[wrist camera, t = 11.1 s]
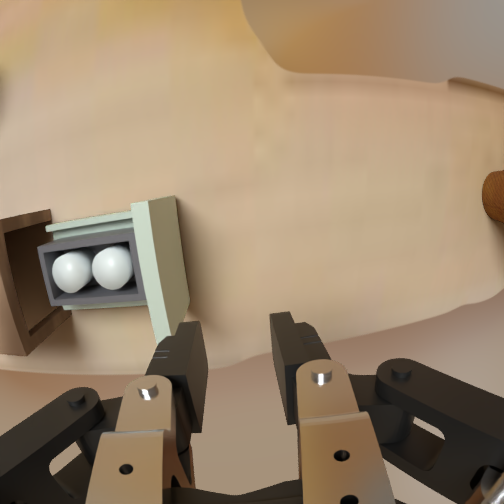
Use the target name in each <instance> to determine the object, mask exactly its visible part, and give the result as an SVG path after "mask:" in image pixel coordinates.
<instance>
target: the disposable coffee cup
mask: <svg viewBox="0 0 504 504" xmlns="http://www.w3.org/2000/svg"><path fill="white" fill-rule="evenodd" d="M482 200H483V205H484V208H485V211H486V213H487V214H488V215H489V217H491V218H492V219H495V220H498V221H500V222H502V223H504V170H503V171H496V172H491V173H490V174H489V175H488V176H487V177H486V179H485V181H484V184H483V190H482Z"/></svg>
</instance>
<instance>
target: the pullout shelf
mask: <svg viewBox="0 0 504 504" xmlns="http://www.w3.org/2000/svg"><path fill="white" fill-rule="evenodd" d="M45 227H46V232H50V231H53V237H54V240H57V239H59V238H63V237H70V236H76V235H82V234H88V233H95V232H102V231H108V230H115V229H122V228H129V227H134V232H135V239H136V245H137V251H138V257H139V263H140V268H141V274H142V279H143V284H144V289H145V294H146V299H147V300H142V301H129V302H115V303H100V304H83V305H65V306H63V309H64V310H76V309H96V308H113V307H128V306H142V305H148V308H149V313H150V317H151V322H152V326H153V330H154V334H155V338H156V342H157V346H158V343H159V342H161V341H162V340H163V339H164V338H165V337H166V336H175V333H176V330H177V328H178V325H179V323H180V322H183V321H184V318H185V315H186V312H187V309H188V306H189V303H190V297H189V291H188V285H187V279H186V272H185V266H184V259H183V253H182V246H181V238H180V231H179V223H178V216H177V208H176V199H175V195H173V196H166V197H160V198H155V199H150V200H146V201H141V202H136V203H131V210H129V211H123V212H117V213H110V214H104V215H98V216H93V217H87V218H81V219H76V220H70V221H65V222H59V223H55V224H51V225H48V226H45Z"/></svg>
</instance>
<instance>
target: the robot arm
mask: <svg viewBox="0 0 504 504" xmlns="http://www.w3.org/2000/svg"><path fill="white" fill-rule="evenodd" d="M270 329H271V341H272V353H273V360H274V367H275V371H276V376H277V380H278V385H279V389H280V394H281V398H282V402H283V407H284V411H285V416H286V420H287V424H288V425H292V424H296V426H297V430H298V462H299V479H298V480H292V481H285V482H282V483H279V484H276V485H273V486H270V487H267V488H263V489H261V490H257V491H254V492H250V493H246V494H242V495H227V494H221V493H215V492H209V491H204V490H199V489H196V487H195V477H194V466H193V454H192V447H191V444H190V439H191V433H201V432H202V422H203V413H204V404H205V394H206V386H207V377H208V362H207V356H206V350H205V345H204V340H203V334H202V329H201V324H200V322H199V321H192V322H180V323H179V325H178V328H177V330H176V333H175V336H166V337H165V338H164V339H163V340H162V341H161V342H159V343H158V346H157V348H156V350H155V353H154V355H153V359H152V360H151V362H150V364H149V367H148V369H147V372H146V374H145V376H143V377H140V378H137V379H135V380H133V381H132V382H131V383H129V384H128V385H127V387H126V388H125V391H124V395H123V397H118V398H113V399H107V400H102V401H101V400H100V398H99V395H98V393H97V392H96V391H95V390H94V389H91V388H88V387H79V388H74V389H71V390H69V391H67V392H65V393H63V394H62V395H61V396H59V397H58V398H56V399H55V400H53V401H52V402H50V403H49V404H47V405H46V406H45V407H43V408H42V409H40V410H39V411H37V412H36V413H34V414H33V415H31V416H30V417H28V418H27V419H25V420H24V421H22V422H21V423H19V424H18V425H16V426H15V427H13V428H12V429H11V430H9V431H7V432H6V433H4V434H3V435H2V436H0V504H406V503H403V502H401V501H399V500H397V499H394V496H393V492H392V489H391V485H390V481H389V478H388V475H387V471H386V468H385V464H384V461H383V458H384V459H385V460H387V461H388V462H390V463H391V464H393V465H394V466H396V467H397V468H399V469H400V470H402V471H404V472H405V473H407V474H408V475H410V476H411V477H413V478H414V479H416V480H418V481H419V482H421V483H423V484H424V485H426V486H427V487H429V488H431V489H433V490H434V491H436V492H438V493H439V494H441V495H443V496H445V497H446V498H448V499H450V500H451V501H453V502H455V503H457V504H504V398H502V397H500V396H497V395H494V394H492V393H489V392H487V391H485V390H482V389H480V388H477V387H475V386H473V385H470V384H468V383H465V382H463V381H460V380H458V379H456V378H453V377H451V376H448V375H446V374H444V373H441V372H439V371H437V370H434V369H432V368H430V367H428V366H425V365H423V364H421V363H418V362H416V361H413V360H410V359H405V358H398V359H397V358H396V359H391V360H387V361H385V362H383V363H382V364H381V365H380V366H379V367H378V369H377V373H376V375H352V374H348V373H347V370H346V368H345V367H344V366H343V365H342V364H340V363H339V362H336V361H333V360H331V358H330V356H329V354H328V352H327V350H326V349H325V347H324V345H323V343H322V342H321V339H320V337H319V336H318V334H317V332H316V330H315V328H314V327H312V326H311V325H309V324H307V323H306V322H302V323H294V321H293V318H292V316H291V314H290V312H289V311H288V312H280V313H272V314H270ZM414 417H417V418H419V419H421V420H423V421H425V422H426V423H429V424H430V425H432V426H434V427H436V428H438V429H439V430H440V431H441V432H442V433H443V434H444V437H445V440H444V439H442V438H440V437H438V436H436V435H434V434H432V433H430V432H429V431H426V430H425V429H423V428H421V427H419V426H417V425H416V424H414V423H413V421H414ZM75 441H76V443H77V445H78V447H79V448H80V450H81V451H82V453H81V454H79V455H78V456H77V457H76V458H74V459H73V460H72V461H71V462H70V463H68V464H67V465H66V466H65V467H63V468H62V469H61V470H60V471H59V472H57V473H56V474H55V475H53V476H52V475H51V473H50V471H49V465H50V462H51V461H52V459H54V458H55V457H56V456H57V455H58V454H60V453H61V452H62V451H64V450H65V449H66V448H67V447H69V446H70V445H71V444H72V443H74V442H75Z"/></svg>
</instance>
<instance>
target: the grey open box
mask: <svg viewBox="0 0 504 504" xmlns="http://www.w3.org/2000/svg"><path fill="white" fill-rule="evenodd" d="M37 249H38V254H39V259H40V264H41V268H42V273H43V277H44V281H45V285H46V289H47V293H48V297H49V301H50V304H51V306H65V305H83V304H100V303H115V302H129V301H142V300H147V299H146V294H145V289H144V284H143V279H142V274H141V268H140V263H139V257H138V251H137V245H136V239H135V232H134V227H129V228H122V229H115V230H108V231H102V232H95V233H88V234H82V235H76V236H70V237H63V238H59V239H57V240H54V241H51V242H49V243H46V244H43V245H41V246H38V247H37Z"/></svg>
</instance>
